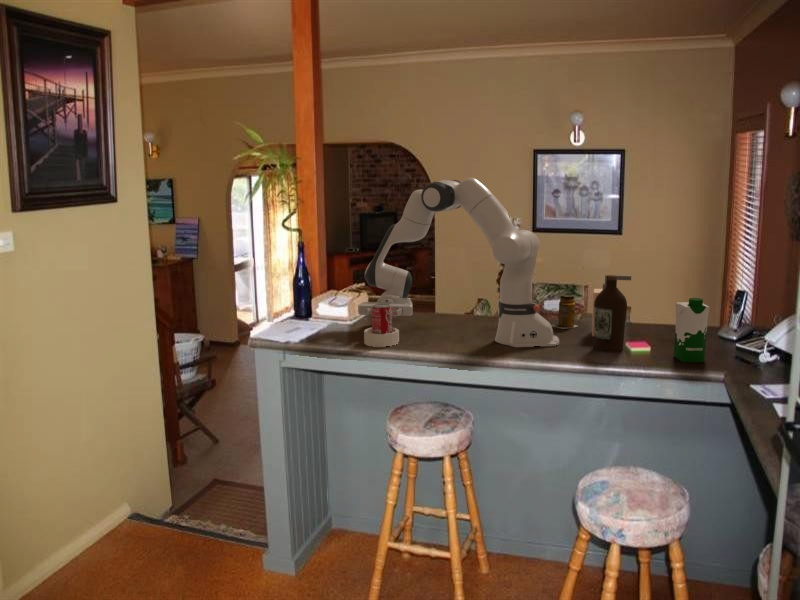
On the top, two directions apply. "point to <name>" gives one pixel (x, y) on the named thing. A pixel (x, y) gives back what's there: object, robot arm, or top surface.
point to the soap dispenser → (597, 291)
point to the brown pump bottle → (609, 317)
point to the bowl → (381, 338)
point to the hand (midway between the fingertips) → (383, 313)
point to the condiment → (566, 312)
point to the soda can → (381, 319)
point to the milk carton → (691, 330)
